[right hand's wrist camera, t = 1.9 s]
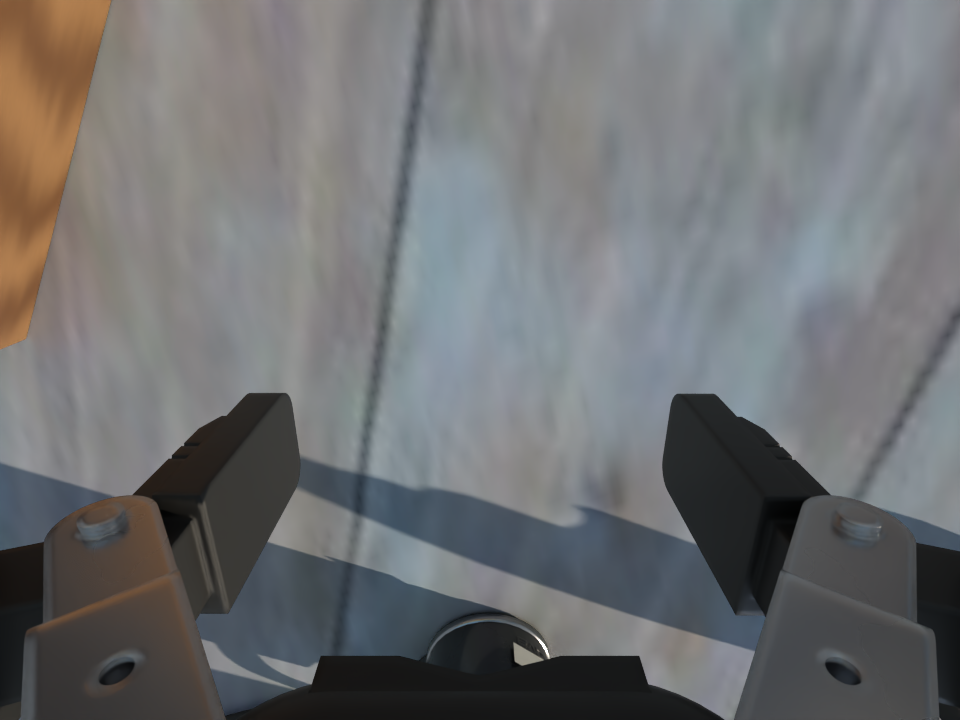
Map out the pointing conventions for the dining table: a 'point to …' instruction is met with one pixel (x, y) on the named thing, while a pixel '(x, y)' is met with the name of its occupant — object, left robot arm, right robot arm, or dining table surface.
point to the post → (38, 135)
